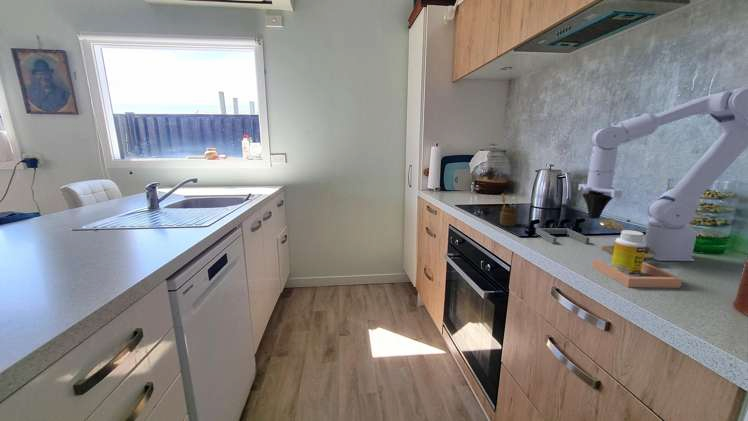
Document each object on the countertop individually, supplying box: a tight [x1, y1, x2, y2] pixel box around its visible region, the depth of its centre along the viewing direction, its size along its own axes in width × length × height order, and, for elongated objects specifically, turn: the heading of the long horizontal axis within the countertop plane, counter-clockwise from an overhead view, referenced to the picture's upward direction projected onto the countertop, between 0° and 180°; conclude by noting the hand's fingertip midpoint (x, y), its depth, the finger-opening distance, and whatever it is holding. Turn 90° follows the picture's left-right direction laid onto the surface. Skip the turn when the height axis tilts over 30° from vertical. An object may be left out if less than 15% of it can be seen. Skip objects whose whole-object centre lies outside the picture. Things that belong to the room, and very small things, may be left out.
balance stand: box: [601, 245, 648, 261], centre depth 81 cm, size 6×8×6 cm
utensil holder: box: [499, 192, 518, 227], centre depth 114 cm, size 6×6×12 cm
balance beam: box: [598, 217, 655, 259], centre depth 81 cm, size 5×18×2 cm, turn 178°
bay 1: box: [534, 227, 590, 245], centre depth 96 cm, size 11×11×2 cm
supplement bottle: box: [610, 229, 646, 277], centre depth 69 cm, size 6×6×10 cm
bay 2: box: [591, 258, 683, 289], centre depth 68 cm, size 11×11×2 cm
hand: (593, 218), depth 85 cm, fingers closed
